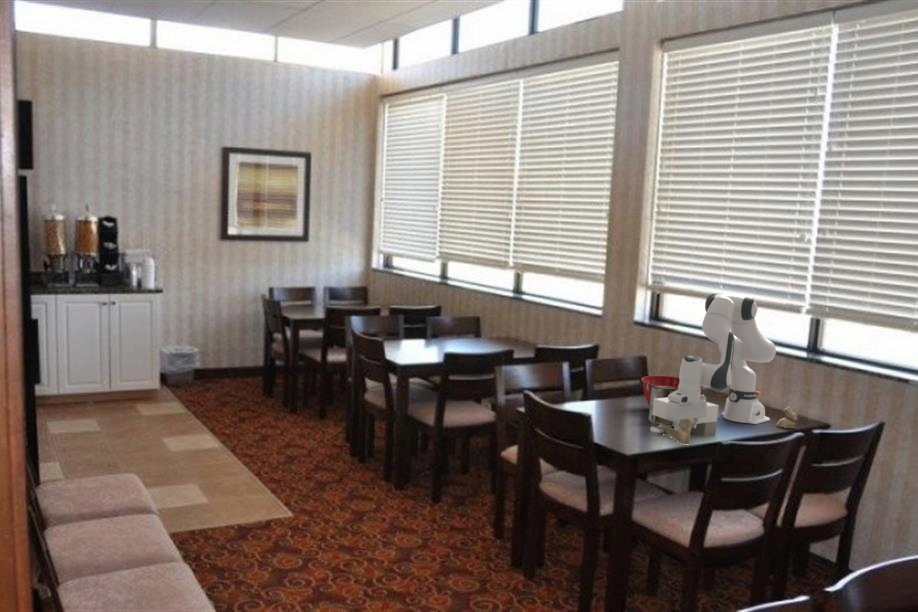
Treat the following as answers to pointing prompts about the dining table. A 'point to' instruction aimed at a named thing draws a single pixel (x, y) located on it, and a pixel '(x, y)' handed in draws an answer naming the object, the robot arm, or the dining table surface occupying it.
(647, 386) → the mixing bowl
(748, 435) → the dining table surface
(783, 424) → the chocolate bunny
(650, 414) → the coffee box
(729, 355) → the robot arm
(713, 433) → the cabinet
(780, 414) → the dining table surface
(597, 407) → the dining table surface
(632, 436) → the dining table surface
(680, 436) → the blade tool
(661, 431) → the steel token
